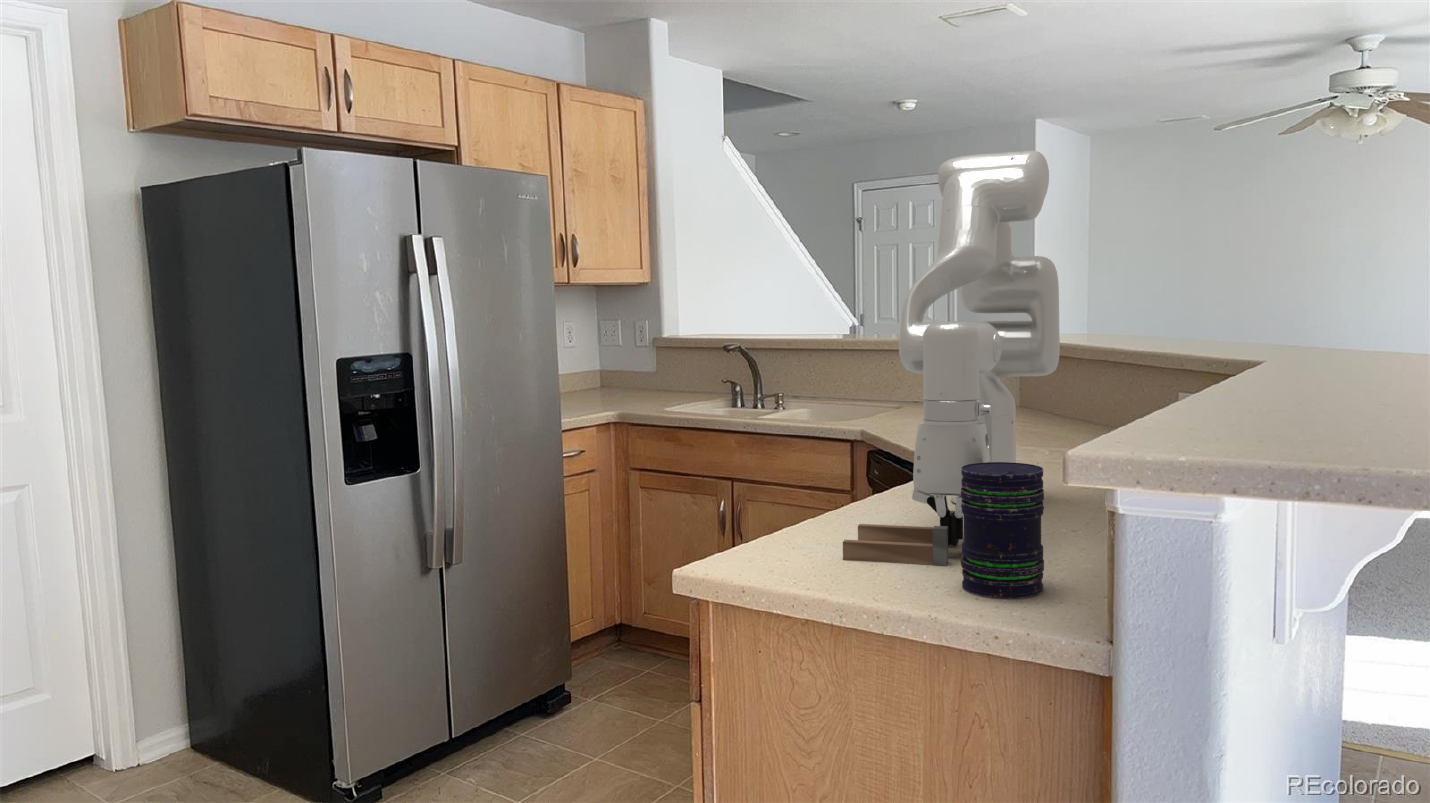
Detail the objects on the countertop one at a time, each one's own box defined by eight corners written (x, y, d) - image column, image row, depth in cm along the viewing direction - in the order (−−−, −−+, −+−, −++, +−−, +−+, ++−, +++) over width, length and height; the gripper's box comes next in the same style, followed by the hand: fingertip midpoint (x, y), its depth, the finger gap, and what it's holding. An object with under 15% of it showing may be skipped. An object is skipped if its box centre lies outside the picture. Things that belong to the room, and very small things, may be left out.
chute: (860, 539, 152) (859, 507, 151) (956, 544, 147) (956, 510, 146) (842, 559, 140) (842, 524, 140) (946, 565, 136) (946, 529, 135)
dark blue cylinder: (950, 578, 129) (950, 463, 128) (1025, 575, 130) (1025, 460, 128) (976, 601, 119) (975, 476, 118) (1057, 597, 120) (1057, 473, 119)
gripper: (1009, 411, 140) (1009, 541, 141) (901, 410, 145) (902, 536, 146) (1005, 415, 133) (1005, 553, 134) (892, 414, 138) (892, 546, 139)
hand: (951, 543), depth 140 cm, fingers closed
